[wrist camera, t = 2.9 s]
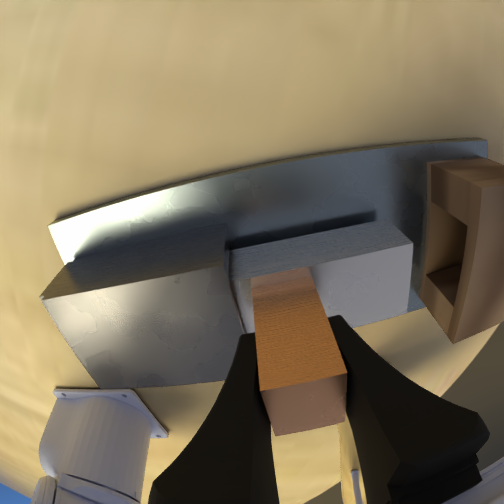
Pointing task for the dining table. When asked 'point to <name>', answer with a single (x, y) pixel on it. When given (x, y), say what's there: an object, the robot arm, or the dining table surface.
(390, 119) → the dining table surface
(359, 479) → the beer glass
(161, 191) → the outer sleeve
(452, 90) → the dining table surface
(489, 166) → the socket block
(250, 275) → the grey slider with handle
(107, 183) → the dining table surface
